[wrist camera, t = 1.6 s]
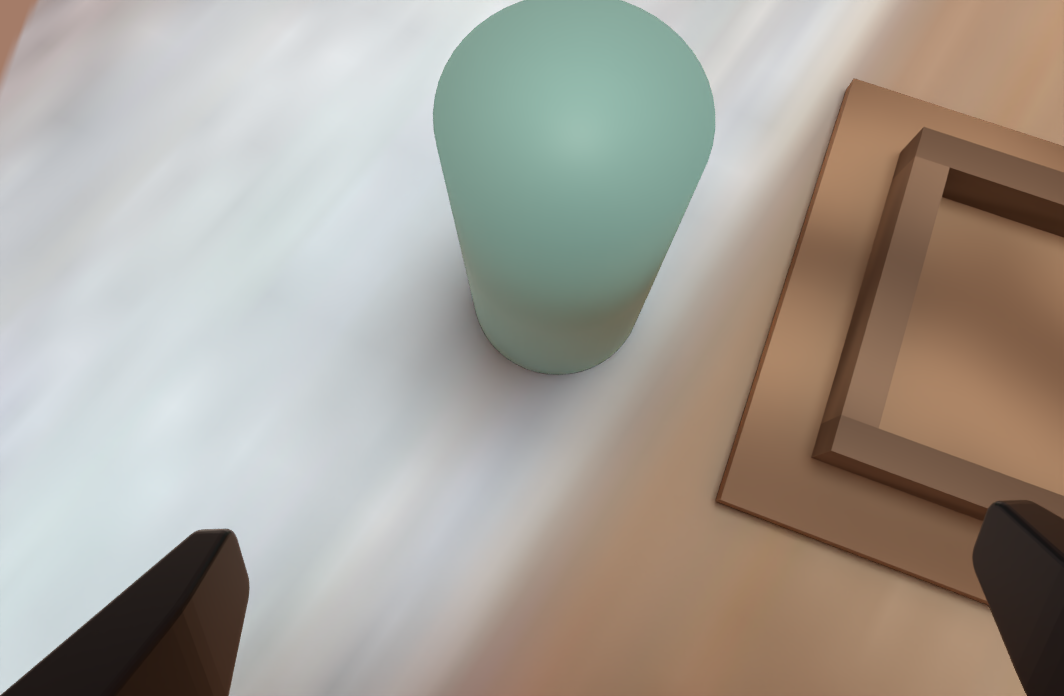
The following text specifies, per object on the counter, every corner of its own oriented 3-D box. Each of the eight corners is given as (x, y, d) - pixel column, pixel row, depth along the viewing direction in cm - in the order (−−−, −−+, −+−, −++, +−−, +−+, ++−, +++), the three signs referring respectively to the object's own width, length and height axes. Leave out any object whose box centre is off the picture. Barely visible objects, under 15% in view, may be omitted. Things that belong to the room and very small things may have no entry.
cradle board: (1221, 693, 21) (1296, 709, 19) (715, 501, 22) (734, 496, 20) (1289, 233, 24) (1359, 204, 22) (846, 89, 25) (873, 48, 23)
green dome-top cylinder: (674, 293, 24) (773, 112, 14) (558, 409, 23) (577, 303, 13) (555, 185, 24) (571, -55, 15) (439, 293, 24) (374, 113, 14)
